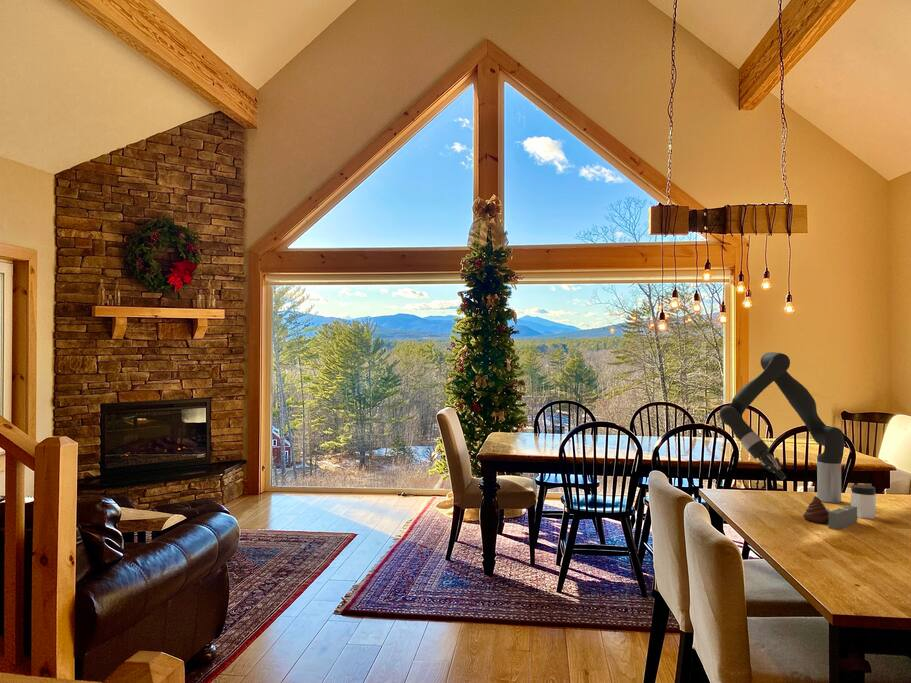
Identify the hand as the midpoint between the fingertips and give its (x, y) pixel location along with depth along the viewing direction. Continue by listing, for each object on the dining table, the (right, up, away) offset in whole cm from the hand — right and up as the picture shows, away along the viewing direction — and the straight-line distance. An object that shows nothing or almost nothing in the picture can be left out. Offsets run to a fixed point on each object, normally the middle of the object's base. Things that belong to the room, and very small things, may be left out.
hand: (784, 478), depth 256 cm
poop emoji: (+7, -14, -12) cm, 20 cm away
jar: (+30, -15, -4) cm, 34 cm away
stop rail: (+13, -14, -18) cm, 26 cm away
